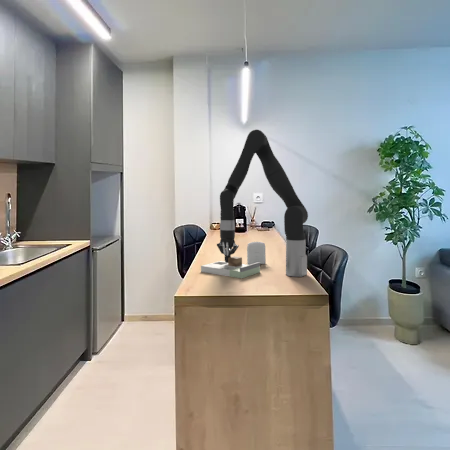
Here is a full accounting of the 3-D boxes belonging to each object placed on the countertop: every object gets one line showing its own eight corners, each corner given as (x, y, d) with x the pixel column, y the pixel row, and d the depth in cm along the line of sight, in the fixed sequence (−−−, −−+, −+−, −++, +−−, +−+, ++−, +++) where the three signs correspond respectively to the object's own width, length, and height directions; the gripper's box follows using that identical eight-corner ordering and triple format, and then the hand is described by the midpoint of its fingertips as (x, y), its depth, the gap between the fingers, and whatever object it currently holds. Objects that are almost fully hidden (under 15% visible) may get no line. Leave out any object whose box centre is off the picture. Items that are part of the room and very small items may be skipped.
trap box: (259, 272, 188) (259, 262, 188) (241, 278, 176) (241, 267, 175) (220, 266, 203) (220, 257, 203) (201, 271, 191) (200, 261, 190)
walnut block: (242, 265, 191) (241, 257, 191) (236, 266, 187) (236, 258, 187) (234, 263, 194) (234, 256, 194) (228, 265, 190) (228, 257, 190)
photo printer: (247, 264, 207) (247, 242, 206) (246, 263, 211) (246, 241, 210) (266, 264, 208) (266, 242, 207) (264, 262, 212) (264, 241, 211)
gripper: (242, 229, 191) (242, 262, 193) (221, 227, 199) (221, 259, 201) (233, 230, 185) (233, 265, 187) (212, 228, 193) (213, 262, 195)
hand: (227, 262), depth 194 cm, fingers closed
